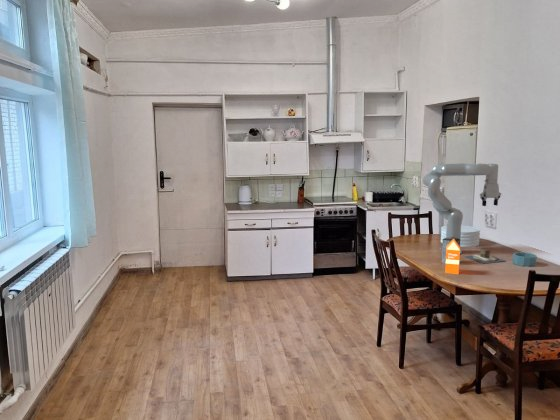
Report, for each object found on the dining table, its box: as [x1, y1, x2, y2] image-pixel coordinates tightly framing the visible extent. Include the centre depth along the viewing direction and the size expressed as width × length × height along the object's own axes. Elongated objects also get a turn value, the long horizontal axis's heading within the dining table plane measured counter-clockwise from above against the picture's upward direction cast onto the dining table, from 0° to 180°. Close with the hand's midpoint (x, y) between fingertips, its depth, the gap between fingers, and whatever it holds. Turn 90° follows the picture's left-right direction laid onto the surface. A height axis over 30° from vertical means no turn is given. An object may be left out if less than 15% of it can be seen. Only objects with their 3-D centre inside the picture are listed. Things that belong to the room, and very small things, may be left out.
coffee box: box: [441, 237, 461, 264], centre depth 296 cm, size 9×6×16 cm
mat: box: [464, 255, 507, 265], centre depth 304 cm, size 18×18×1 cm
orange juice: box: [444, 239, 461, 275], centre depth 275 cm, size 8×9×20 cm
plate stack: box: [440, 224, 481, 248], centre depth 352 cm, size 28×28×12 cm
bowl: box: [512, 251, 537, 268], centre depth 292 cm, size 13×13×6 cm
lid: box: [472, 248, 498, 261], centre depth 303 cm, size 15×15×6 cm
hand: (489, 205), depth 319 cm, fingers open, 9 cm apart
